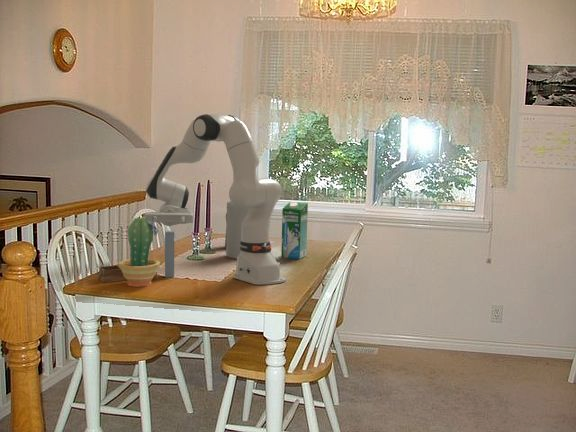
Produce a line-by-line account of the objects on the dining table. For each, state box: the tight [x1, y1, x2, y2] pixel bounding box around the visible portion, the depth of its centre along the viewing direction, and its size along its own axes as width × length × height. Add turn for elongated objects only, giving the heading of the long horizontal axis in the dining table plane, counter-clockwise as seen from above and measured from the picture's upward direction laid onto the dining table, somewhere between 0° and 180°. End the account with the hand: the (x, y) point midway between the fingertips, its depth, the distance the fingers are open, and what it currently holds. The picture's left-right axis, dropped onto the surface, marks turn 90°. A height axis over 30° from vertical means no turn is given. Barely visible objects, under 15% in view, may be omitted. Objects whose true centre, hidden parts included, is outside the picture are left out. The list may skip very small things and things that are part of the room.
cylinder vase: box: [225, 200, 249, 260], centre depth 303 cm, size 12×12×25 cm
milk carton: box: [280, 201, 309, 260], centre depth 306 cm, size 9×9×25 cm
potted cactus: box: [117, 216, 161, 288], centre depth 247 cm, size 16×15×25 cm
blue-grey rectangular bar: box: [164, 230, 175, 279], centre depth 261 cm, size 4×4×18 cm
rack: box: [97, 265, 158, 283], centre depth 257 cm, size 7×21×4 cm, turn 120°
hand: (169, 220), depth 271 cm, fingers open, 8 cm apart
